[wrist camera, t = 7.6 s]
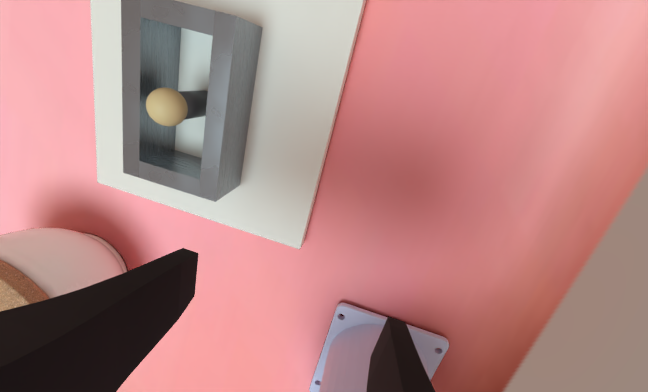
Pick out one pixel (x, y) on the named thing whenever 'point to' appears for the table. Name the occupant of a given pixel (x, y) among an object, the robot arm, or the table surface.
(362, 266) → the table surface
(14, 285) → the lidded jar
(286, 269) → the table surface
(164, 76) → the grey rectangular frame
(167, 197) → the keeper board
